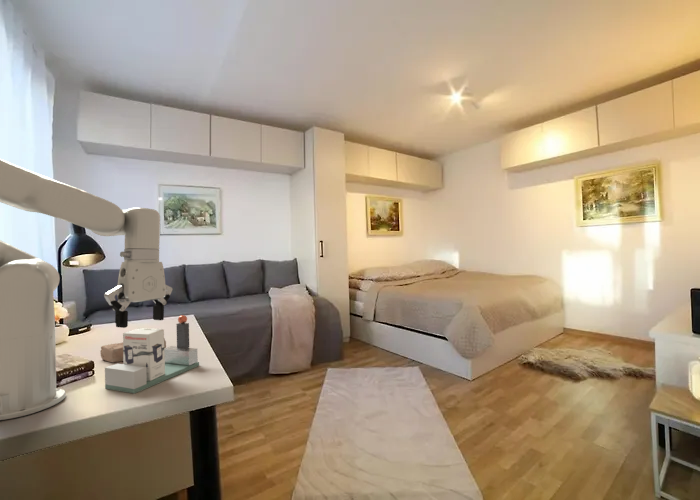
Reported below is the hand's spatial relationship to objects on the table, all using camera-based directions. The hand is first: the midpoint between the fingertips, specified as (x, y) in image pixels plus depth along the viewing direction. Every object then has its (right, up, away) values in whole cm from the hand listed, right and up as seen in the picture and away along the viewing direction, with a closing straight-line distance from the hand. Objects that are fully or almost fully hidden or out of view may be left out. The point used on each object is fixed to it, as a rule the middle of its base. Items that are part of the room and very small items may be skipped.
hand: (141, 323), depth 81 cm
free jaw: (+5, -14, +11) cm, 18 cm away
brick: (-17, -16, +23) cm, 33 cm away
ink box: (+1, -14, 0) cm, 14 cm away
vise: (+2, -15, +3) cm, 15 cm away
